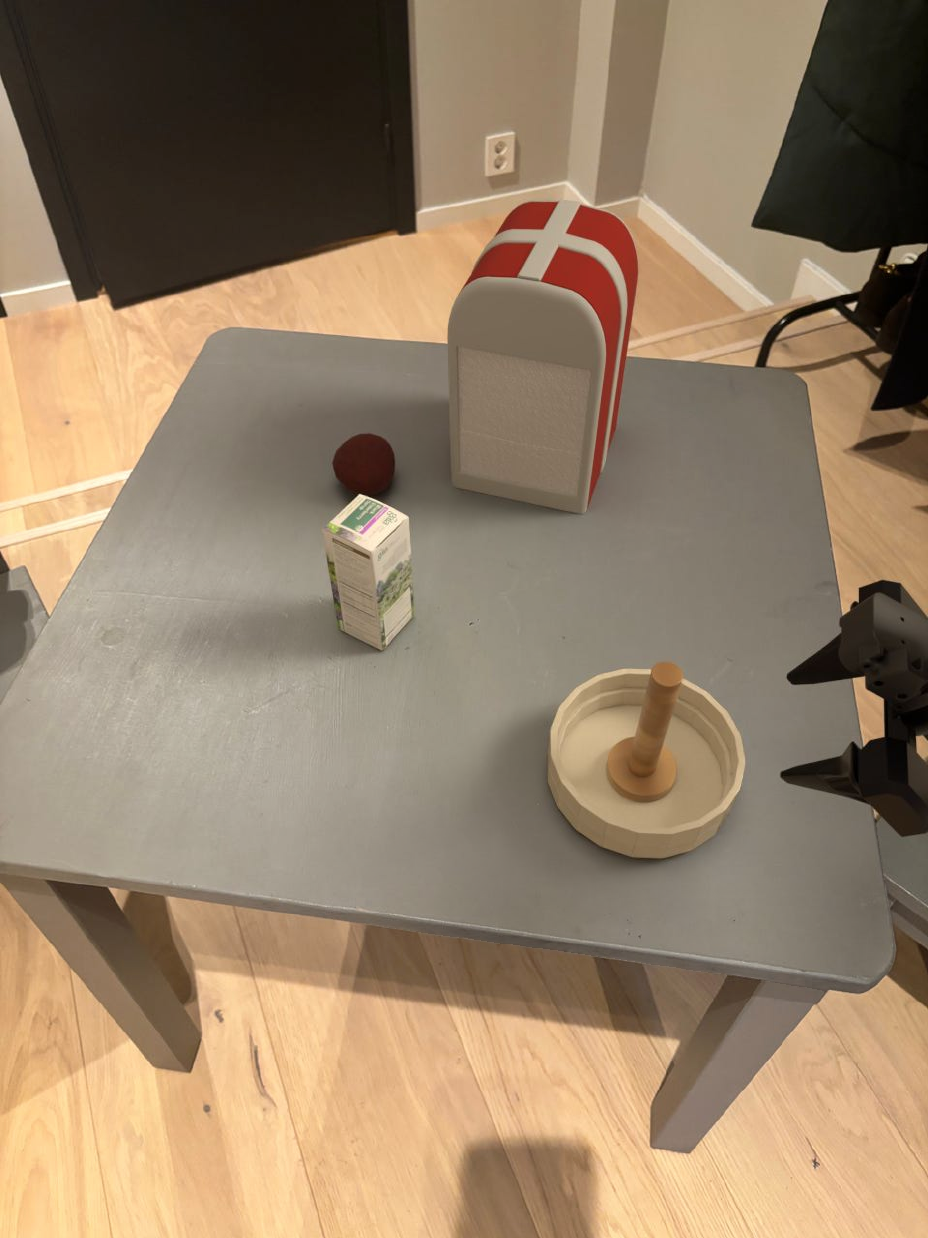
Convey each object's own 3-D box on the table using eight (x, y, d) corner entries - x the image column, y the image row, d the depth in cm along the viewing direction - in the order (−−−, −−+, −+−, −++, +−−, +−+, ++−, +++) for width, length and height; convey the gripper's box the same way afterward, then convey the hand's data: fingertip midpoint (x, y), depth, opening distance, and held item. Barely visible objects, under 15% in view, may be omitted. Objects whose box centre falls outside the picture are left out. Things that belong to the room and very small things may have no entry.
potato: (322, 498, 103) (315, 458, 99) (352, 455, 108) (347, 414, 104) (381, 513, 102) (376, 473, 97) (409, 468, 107) (406, 427, 102)
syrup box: (370, 594, 94) (356, 489, 83) (417, 617, 92) (409, 512, 81) (337, 630, 91) (318, 526, 80) (384, 654, 89) (371, 551, 78)
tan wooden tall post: (656, 735, 82) (685, 634, 70) (686, 792, 78) (721, 694, 67) (595, 753, 80) (614, 653, 69) (622, 810, 77) (647, 715, 66)
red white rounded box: (447, 486, 104) (440, 267, 84) (492, 398, 115) (495, 185, 94) (586, 515, 101) (615, 295, 80) (619, 422, 112) (651, 206, 91)
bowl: (745, 730, 83) (758, 698, 79) (712, 888, 73) (725, 861, 69) (576, 680, 86) (580, 648, 82) (522, 824, 77) (525, 795, 73)
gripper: (939, 496, 61) (737, 575, 71) (957, 719, 49) (713, 774, 60) (1011, 596, 65) (811, 656, 76) (1043, 821, 54) (802, 856, 64)
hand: (786, 726), depth 69 cm, fingers open, 9 cm apart
